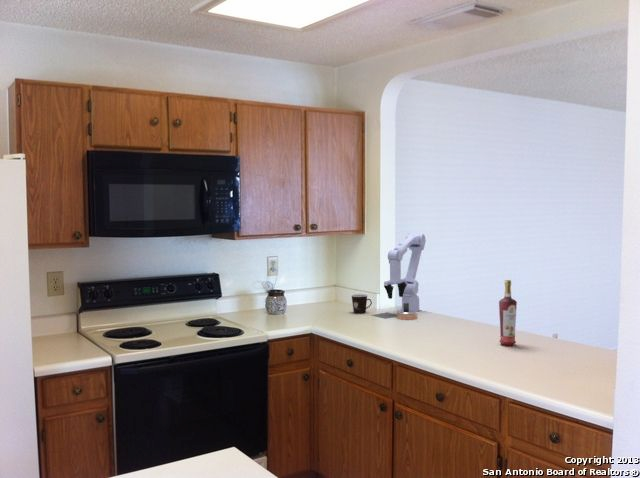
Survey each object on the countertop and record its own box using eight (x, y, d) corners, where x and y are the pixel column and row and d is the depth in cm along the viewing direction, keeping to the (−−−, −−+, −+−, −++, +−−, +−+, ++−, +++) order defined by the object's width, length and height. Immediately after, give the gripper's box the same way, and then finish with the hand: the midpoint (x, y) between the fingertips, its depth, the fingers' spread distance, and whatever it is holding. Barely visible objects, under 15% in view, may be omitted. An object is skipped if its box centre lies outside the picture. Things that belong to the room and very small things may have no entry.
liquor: (504, 347, 266) (505, 282, 264) (495, 343, 273) (495, 279, 271) (519, 346, 268) (520, 281, 266) (510, 342, 275) (510, 278, 273)
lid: (402, 310, 334) (402, 301, 334) (418, 312, 329) (418, 302, 328) (393, 313, 327) (393, 303, 326) (409, 315, 321) (409, 305, 321)
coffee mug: (349, 313, 346) (348, 295, 346) (362, 311, 350) (362, 293, 349) (359, 316, 336) (358, 298, 335) (373, 315, 340) (372, 296, 339)
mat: (387, 313, 343) (387, 312, 343) (402, 316, 334) (402, 315, 334) (370, 316, 337) (370, 315, 336) (385, 319, 327) (385, 318, 327)
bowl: (407, 316, 335) (407, 310, 334) (420, 319, 326) (420, 313, 326) (393, 318, 329) (393, 313, 329) (406, 321, 321) (406, 316, 320)
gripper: (400, 270, 342) (400, 295, 343) (380, 272, 334) (380, 298, 335) (409, 271, 336) (409, 296, 337) (388, 274, 328) (389, 299, 329)
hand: (395, 297), depth 336 cm, fingers open, 7 cm apart
